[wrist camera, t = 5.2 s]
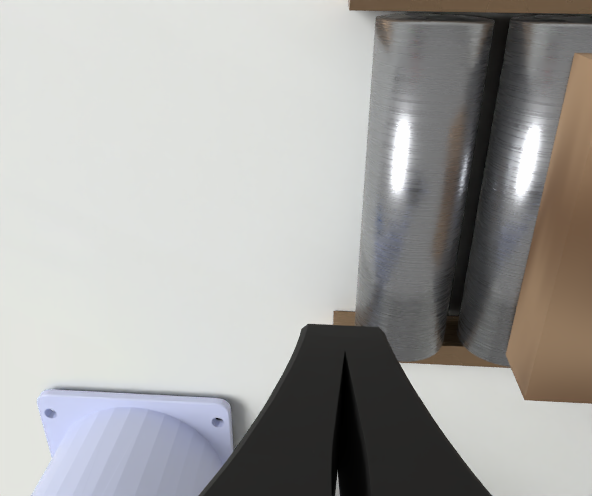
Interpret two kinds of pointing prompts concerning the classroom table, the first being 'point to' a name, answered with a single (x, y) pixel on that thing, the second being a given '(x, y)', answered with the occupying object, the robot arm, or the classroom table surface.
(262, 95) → the classroom table surface
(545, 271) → the slab
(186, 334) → the classroom table surface
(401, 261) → the roller track
